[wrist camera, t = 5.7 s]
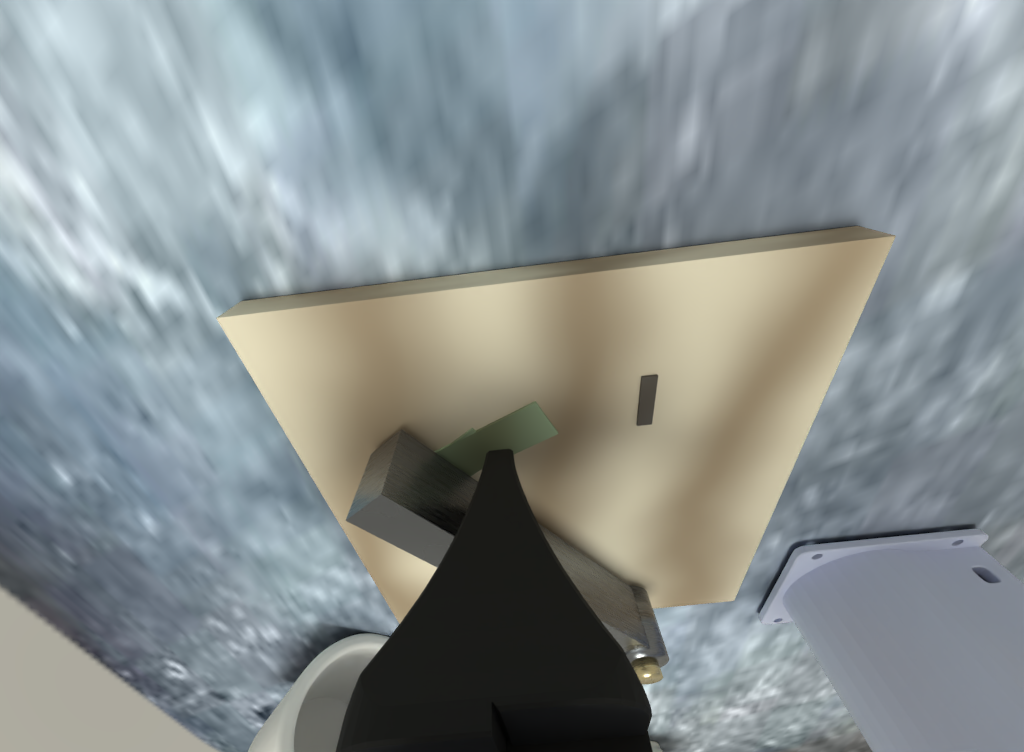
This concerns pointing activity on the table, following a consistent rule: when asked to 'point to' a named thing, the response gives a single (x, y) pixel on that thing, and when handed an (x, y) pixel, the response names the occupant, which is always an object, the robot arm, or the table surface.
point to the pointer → (438, 515)
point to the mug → (318, 699)
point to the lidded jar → (655, 746)
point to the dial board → (580, 393)
